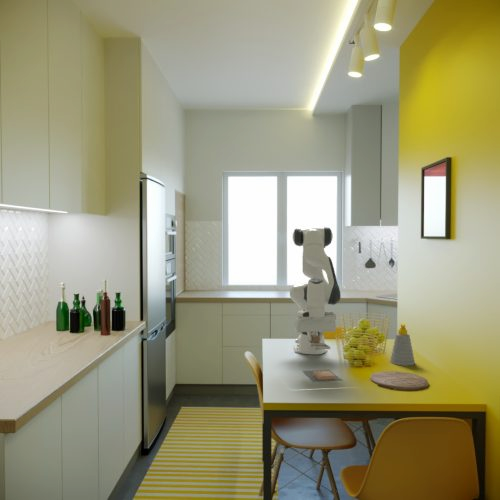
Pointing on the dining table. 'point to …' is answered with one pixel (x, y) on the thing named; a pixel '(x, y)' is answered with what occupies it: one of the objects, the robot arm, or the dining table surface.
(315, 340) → the turner
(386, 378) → the trivet
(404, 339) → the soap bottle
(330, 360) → the dining table surface
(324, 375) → the tile
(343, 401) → the dining table surface
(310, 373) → the mat
